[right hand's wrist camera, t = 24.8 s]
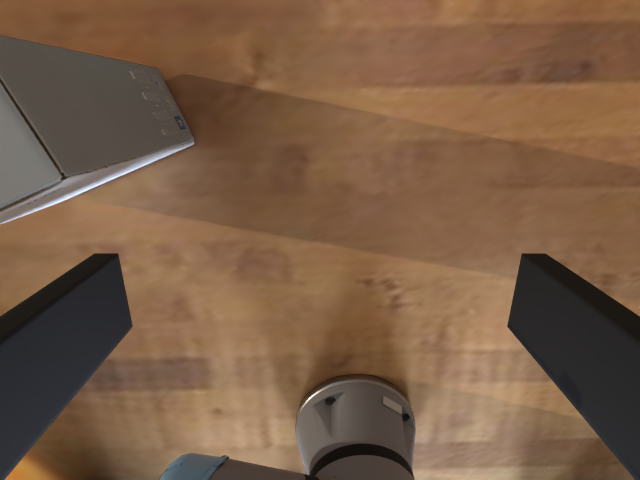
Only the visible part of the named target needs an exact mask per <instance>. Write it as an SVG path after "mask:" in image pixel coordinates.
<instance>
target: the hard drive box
mask: <svg viewBox="0 0 640 480" xmlns="http://www.w3.org/2000/svg"><path fill="white" fill-rule="evenodd" d="M194 140H195V139H194V137H193V135H192V133H191V131H190V129H189V127H188V125H187V123H186V121H185V119H184V117H183V115H182V113H181V111H180V109H179V108H178V106H177V104H176V102H175V100H174V98H173V96H172V94H171V92H170V90H169V89H168V87H167V85H166V83H165V81H164V79H163V77H162V75H161V74H160V72H159V70H158V69H157V68H155V67H150V66H146V65H141V64H136V63H132V62H127V61H122V60H117V59H112V58H107V57H102V56H97V55H92V54H88V53H83V52H78V51H73V50H68V49H64V48H59V47H54V46H49V45H44V44H40V43H35V42H30V41H25V40H21V39H16V38H11V37H7V36H2V35H0V224H3V223H6V222H8V221H11V220H14V219H17V218H19V217H22V216H25V215H27V214H30V213H33V212H35V211H38V210H41V209H43V208H46V207H49V206H51V205H54V204H57V203H59V202H62V201H64V200H67V199H69V198H71V197H74V196H76V195H78V194H80V193H83V192H85V191H87V190H89V189H92V188H94V187H96V186H99V185H101V184H103V183H105V182H108V181H110V180H112V179H115V178H117V177H119V176H122V175H124V174H126V173H129V172H131V171H133V170H136V169H138V168H140V167H143V166H145V165H147V164H150V163H152V162H154V161H157V160H159V159H161V158H164V157H166V156H168V155H171V154H173V153H175V152H178V151H180V150H182V149H185V148H187V147H189V146H191V145H193V144H194Z"/></svg>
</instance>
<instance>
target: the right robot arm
mask: <svg viewBox="0 0 640 480" xmlns="http://www.w3.org/2000/svg"><path fill="white" fill-rule="evenodd" d="M132 327H133V326H132V321H131V316H130V311H129V306H128V301H127V296H126V291H125V286H124V281H123V276H122V271H121V266H120V261H119V256H118V254H93V255H92V256H90V257H89V258H87V259H86V260H84V261H83V262H81V263H80V264H78V265H77V266H75V267H74V268H72V269H71V270H69V271H68V272H66V273H65V274H63V275H62V276H60V277H59V278H57V279H56V280H54V281H53V282H51V283H50V284H48V285H47V286H45V287H44V288H42V289H41V290H39V291H38V292H36V293H35V294H33V295H32V296H30V297H29V298H27V299H26V300H24V301H23V302H21V303H20V304H18V305H17V306H15V307H14V308H12V309H11V310H9V311H8V312H7V313H5V314H4V315H2V316H1V317H0V480H5V478H6V477H7V476H8V475H9V474H10V472H11V471H12V470H13V469H14V468H15V466H16V465H17V464H18V463H19V462H20V460H21V459H22V458H23V457H24V456H25V455H26V453H27V452H28V451H29V450H30V449H31V447H32V446H33V445H34V444H35V443H36V441H37V440H38V439H39V438H40V437H41V435H42V434H43V433H44V432H45V431H46V429H47V428H48V427H49V426H50V425H51V423H52V422H53V421H54V420H55V419H56V417H57V416H58V415H59V414H60V413H61V412H62V410H63V409H64V408H65V407H66V406H67V404H68V403H69V402H70V401H71V400H72V398H73V397H74V396H75V395H76V394H77V392H78V391H79V390H80V389H81V388H82V386H83V385H84V384H85V383H86V382H87V380H88V379H89V378H90V377H91V376H92V374H93V373H94V372H95V371H96V370H97V369H98V367H99V366H100V365H101V364H102V363H103V361H104V360H105V359H106V358H107V357H108V355H109V354H110V353H111V352H112V351H113V349H114V348H115V347H116V346H117V345H118V343H119V342H120V341H121V340H122V339H123V337H124V336H125V335H126V334H127V333H128V331H129V330H130V329H131V328H132ZM507 327H508V328H509V329H510V330H511V331H512V333H513V334H514V335H515V336H516V337H517V339H518V340H519V341H520V342H521V343H522V345H523V346H524V347H525V348H526V349H527V351H528V352H529V353H530V354H531V355H532V357H533V358H534V359H535V360H536V361H537V363H538V364H539V365H540V366H541V367H542V369H543V370H544V371H545V372H546V373H547V374H548V376H549V377H550V378H551V379H552V380H553V382H554V383H555V384H556V385H557V386H558V388H559V389H560V390H561V391H562V392H563V394H564V395H565V396H566V397H567V398H568V400H569V401H570V402H571V403H572V404H573V406H574V407H575V408H576V409H577V410H578V412H579V413H580V414H581V415H582V416H583V417H584V419H585V420H586V421H587V422H588V423H589V425H590V426H591V427H592V428H593V429H594V431H595V432H596V433H597V434H598V435H599V437H600V438H601V439H602V440H603V441H604V443H605V444H606V445H607V446H608V447H609V449H610V450H611V451H612V452H613V453H614V455H615V456H616V457H617V458H618V459H619V460H620V462H621V463H622V464H623V465H624V466H625V468H626V469H627V470H628V471H629V472H630V474H631V475H632V476H633V477H634V478H635V480H640V317H639V316H638V315H636V314H635V313H633V312H632V311H631V310H629V309H628V308H626V307H625V306H623V305H622V304H620V303H619V302H617V301H616V300H614V299H613V298H611V297H610V296H608V295H607V294H605V293H604V292H602V291H601V290H599V289H598V288H596V287H595V286H593V285H592V284H590V283H589V282H587V281H586V280H584V279H583V278H581V277H580V276H578V275H577V274H575V273H574V272H572V271H571V270H569V269H568V268H566V267H565V266H563V265H562V264H560V263H559V262H557V261H556V260H554V259H553V258H551V257H550V256H548V255H547V254H522V256H521V261H520V266H519V271H518V276H517V281H516V286H515V291H514V296H513V301H512V306H511V311H510V316H509V321H508V326H507ZM296 438H297V443H298V447H299V450H300V453H301V456H302V460H303V463H304V466H305V469H306V472H307V475H305V474H301V473H296V472H290V471H286V470H281V469H276V468H271V467H266V466H261V465H257V464H252V463H247V462H242V461H237V460H232V459H229V456H226V455H224V456H222V457H216V456H208V455H202V454H195V453H189V454H185V455H182V456H180V457H179V458H177V459H176V460H175V461H173V462H172V463H171V464H170V465H169V467H168V468H167V469H166V470H165V472H164V473H163V475H162V476H161V478H160V479H159V480H414V476H413V471H412V465H413V454H414V444H415V420H414V416H413V413H412V409H411V406H410V404H409V402H408V400H407V398H406V397H405V395H404V394H403V393H402V392H401V391H400V390H399V389H398V388H397V387H395V386H394V385H392V384H391V383H389V382H387V381H385V380H383V379H380V378H377V377H373V376H368V375H356V374H354V375H344V376H339V377H335V378H332V379H329V380H327V381H325V382H323V383H321V384H319V385H318V386H316V387H315V388H314V389H312V390H311V391H310V392H309V393H308V394H307V395H306V396H305V398H304V399H303V400H302V402H301V404H300V406H299V409H298V412H297V417H296Z"/></svg>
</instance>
